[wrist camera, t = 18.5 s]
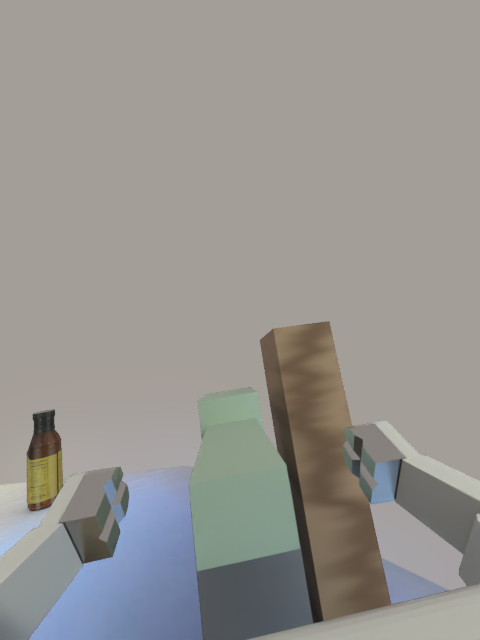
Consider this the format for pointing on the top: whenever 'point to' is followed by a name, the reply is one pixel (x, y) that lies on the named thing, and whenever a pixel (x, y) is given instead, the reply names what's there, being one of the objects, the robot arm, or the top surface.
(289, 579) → the gray block
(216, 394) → the green handle
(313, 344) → the walnut stand
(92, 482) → the robot arm
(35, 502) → the sauce bottle
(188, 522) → the top surface
